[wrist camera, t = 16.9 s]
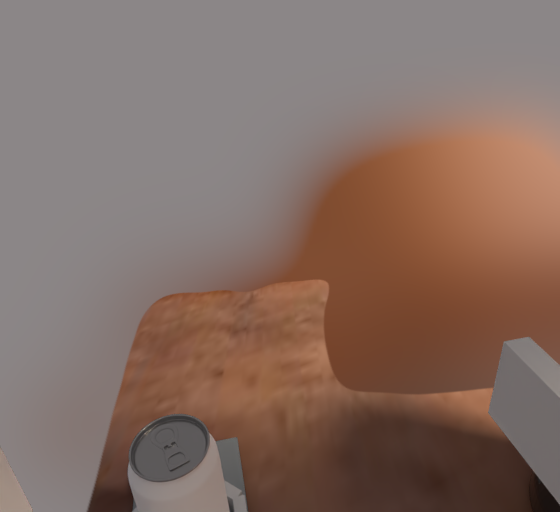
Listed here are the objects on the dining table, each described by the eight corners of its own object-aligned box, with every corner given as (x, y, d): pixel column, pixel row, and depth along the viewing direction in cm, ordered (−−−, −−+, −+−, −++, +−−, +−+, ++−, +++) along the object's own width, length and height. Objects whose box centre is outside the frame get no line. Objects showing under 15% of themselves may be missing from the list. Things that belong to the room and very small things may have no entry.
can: (213, 492, 42) (194, 396, 36) (248, 554, 37) (231, 454, 31) (144, 533, 39) (111, 435, 33) (171, 605, 34) (138, 506, 29)
